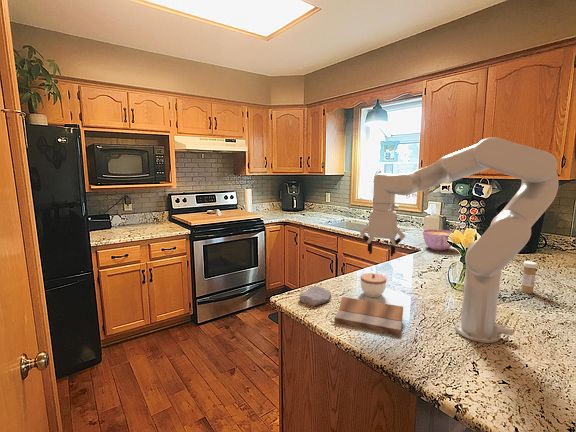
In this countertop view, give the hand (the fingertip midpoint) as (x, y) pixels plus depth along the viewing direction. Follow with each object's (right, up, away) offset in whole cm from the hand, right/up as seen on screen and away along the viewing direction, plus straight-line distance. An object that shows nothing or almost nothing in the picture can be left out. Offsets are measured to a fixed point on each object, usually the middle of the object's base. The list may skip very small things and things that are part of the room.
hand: (381, 253), depth 116 cm
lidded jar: (+1, -20, +17) cm, 26 cm away
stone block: (-23, -21, +11) cm, 33 cm away
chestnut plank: (-5, -21, -3) cm, 22 cm away
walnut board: (-7, -24, -9) cm, 26 cm away
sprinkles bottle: (+70, -19, +19) cm, 75 cm away
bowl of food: (+66, -8, +91) cm, 113 cm away
